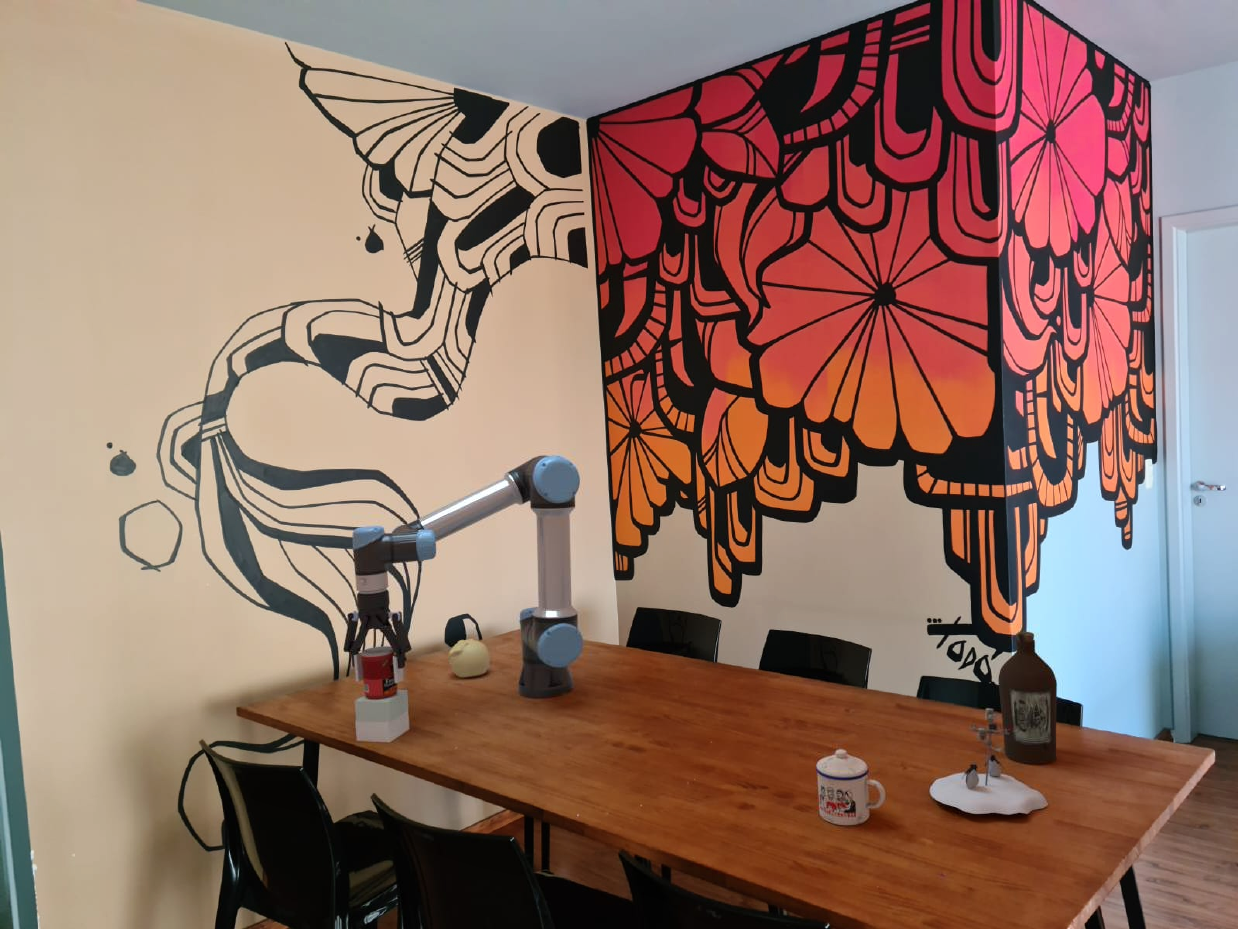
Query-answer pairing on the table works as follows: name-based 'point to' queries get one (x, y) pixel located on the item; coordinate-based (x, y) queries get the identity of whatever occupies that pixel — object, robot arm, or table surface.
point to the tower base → (382, 729)
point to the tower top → (381, 708)
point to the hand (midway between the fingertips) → (379, 680)
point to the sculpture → (469, 658)
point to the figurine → (987, 785)
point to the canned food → (378, 672)
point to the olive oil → (1028, 704)
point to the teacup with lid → (845, 789)
